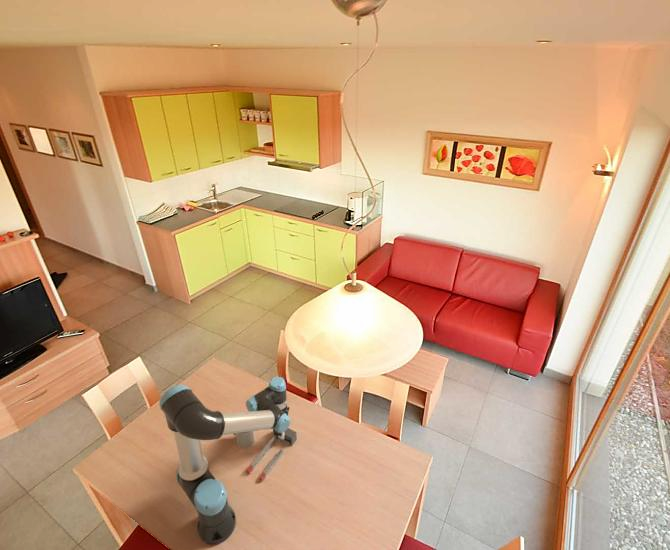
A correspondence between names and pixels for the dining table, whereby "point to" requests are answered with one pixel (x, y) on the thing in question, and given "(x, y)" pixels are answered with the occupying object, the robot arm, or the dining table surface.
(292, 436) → the grey rectangular block
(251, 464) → the base
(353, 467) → the dining table surface
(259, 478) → the red-tipped stick
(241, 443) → the mug
